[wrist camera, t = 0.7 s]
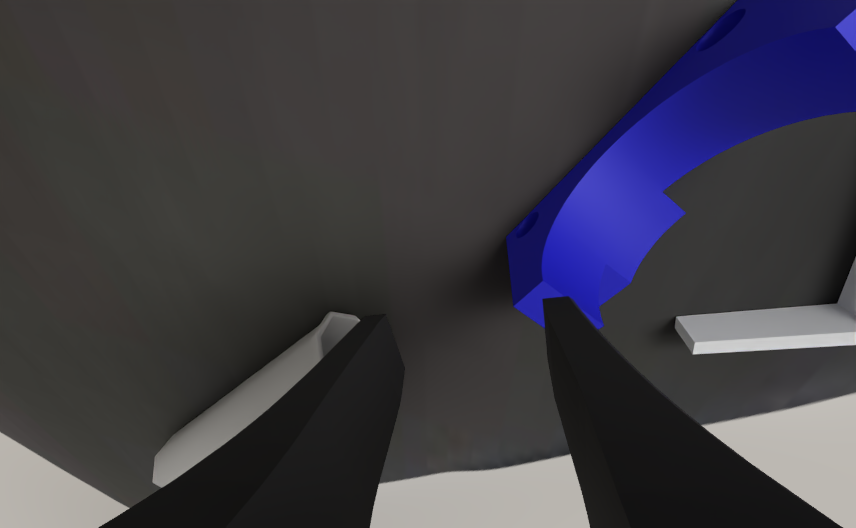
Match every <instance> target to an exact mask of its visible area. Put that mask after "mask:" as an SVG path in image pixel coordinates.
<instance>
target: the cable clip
mask: <svg viewBox="0 0 856 528" xmlns="http://www.w3.org/2000/svg"><path fill="white" fill-rule="evenodd" d="M845 112H856V0H737V1H736V2H735V3H734V4H733V6H732V7H731V8H730V9H729V10H728V11H727V12H726V13H725V14H724V15H723V16H722V17H721V18H720V19H719V20H718V21H717V22H716V23H715V24H714V25H713V26H712V27H711V28H710V29H709V30H708V31H707V32H706V33H705V34H704V35H703V36H702V37H701V38H700V39H699V40H698V41H697V42H696V43H695V44H694V45H693V46H692V47H691V48H690V49H689V50H688V52H687V53H686V54H685V55H684V56H683V57H682V58H681V59H680V60H679V61H678V62H677V63H676V64H675V65H674V66H673V67H672V68H671V69H670V70H669V71H668V72H667V73H666V74H665V75H664V76H663V77H662V78H661V79H660V80H659V81H658V82H657V83H656V84H655V85H654V86H653V87H652V88H651V89H650V90H649V91H648V92H647V93H646V94H645V95H644V97H643V98H642V99H641V100H640V101H639V102H638V103H637V104H636V105H635V106H634V107H633V108H632V109H631V110H630V111H629V112H628V113H627V114H626V115H625V116H624V117H623V118H622V119H621V120H620V121H619V122H618V123H617V124H616V125H615V126H614V127H613V128H612V129H611V130H610V131H609V132H608V133H607V134H606V135H605V136H604V137H603V138H602V139H601V140H600V141H599V143H598V144H597V145H596V146H595V147H594V148H593V149H592V150H591V151H590V152H589V153H588V154H587V155H586V156H585V157H584V158H583V159H582V160H581V161H580V162H579V163H578V164H577V165H576V166H575V167H574V168H573V169H572V170H571V171H570V172H569V173H568V174H567V175H566V176H565V177H564V178H563V179H562V180H561V181H560V182H559V183H558V184H557V185H556V186H555V188H554V189H553V190H552V191H551V192H550V193H549V194H548V195H547V196H546V197H545V198H544V199H543V200H542V201H541V202H540V203H539V204H538V205H537V206H536V207H535V208H534V209H533V210H532V211H531V212H530V213H529V214H528V215H527V216H526V217H525V218H524V219H523V220H522V221H521V222H520V223H519V224H518V225H517V226H516V227H515V228H514V229H513V230H512V231H511V233H510V234H509V235H508V236H507V237H506V241H507V250H508V260H509V269H510V279H511V288H512V297H513V307H515V308H516V309H518V310H519V311H521V312H522V313H523V314H525V315H526V316H528V317H529V318H531V319H532V320H533V321H535V322H536V323H538V324H539V325H541V326H542V327H543V328H545V323H544V312H543V301H542V299H544V298H554V297H564V296H569V297H570V298H572V299H573V300H574V301H575V303H576V304H577V305H578V307H579V308H580V309H581V310H582V312H583V313H584V314H585V315H586V317H587V318H588V319H589V320H590V321H591V322H592V324H593V325H594V326H595V327H596V328H597V329H600V328H601V327H603V326H604V324H603V321H602V319H601V315H600V310H599V306H600V305H602V304H603V303H604V302H606V301H607V300H608V299H610V298H611V297H613V296H614V295H615V294H617V293H618V292H619V291H621V290H622V289H623V288H625V287H626V286H627V285H629V284H630V283H631V281H632V279H633V276H634V274H635V272H636V270H637V268H638V266H639V265H640V263H641V261H642V260H643V258H644V257H645V255H646V254H647V252H648V251H649V250H650V248H651V247H652V246H653V245H654V243H655V242H656V241H657V240H658V239H659V238H660V237H661V236H662V234H663V233H664V232H665V231H666V230H668V229H669V228H670V227H671V226H672V225H673V224H674V223H675V222H676V221H677V220H678V219H680V218H681V217H682V216H683V215H684V214H686V213H685V212H684V211H683V210H682V209H681V208H680V207H679V206H678V205H676V204H675V203H674V202H673V201H672V200H671V199H670V198H668V197H667V196H666V195H665V194H664V193H663V192H662V191H664V190H665V189H666V188H667V187H669V186H670V185H671V184H672V183H674V182H675V181H676V180H678V179H679V178H680V177H682V176H683V175H685V174H686V173H688V172H689V171H690V170H692V169H694V168H695V167H697V166H698V165H700V164H702V163H703V162H705V161H706V160H708V159H710V158H712V157H713V156H715V155H717V154H719V153H721V152H723V151H725V150H727V149H729V148H731V147H732V146H734V145H737V144H739V143H741V142H743V141H746V140H748V139H750V138H752V137H755V136H757V135H760V134H763V133H765V132H768V131H771V130H773V129H776V128H779V127H782V126H785V125H789V124H792V123H796V122H799V121H803V120H807V119H812V118H816V117H821V116H825V115H832V114H838V113H845Z"/></svg>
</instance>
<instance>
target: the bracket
mask: <svg viewBox="0 0 856 528" xmlns="http://www.w3.org/2000/svg"><path fill="white" fill-rule="evenodd" d="M675 329H676V331H677V332H678V334H679V335H680V337H681V338H682V339H683V341H684V342H685V344H686V345H687V347H688V348H689V350H690V351H691V353H692V354H707V353H725V352H742V351H759V350H776V349H794V348H811V347H828V346H845V345H856V257H855V260H854V262H853V265H852V267H851V270H850V272H849V275H848V277H847V280H846V282H845V285H844V287H843V290H842V293H841V295H840V298H839V300H838V303H837V304H824V305H812V306H799V307H787V308H775V309H762V310H750V311H738V312H725V313H713V314H701V315H688V316H676V321H675Z"/></svg>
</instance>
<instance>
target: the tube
mask: <svg viewBox="0 0 856 528" xmlns="http://www.w3.org/2000/svg"><path fill="white" fill-rule="evenodd" d="M359 321H360V320H359V319H358V318H357V317H356V316H354V315H349V314H343V313H337V312H331V311H330V312H329V313H328V314H327V315H326V316H325V317H324V319H323V321H322V322H321V324H320V325H319V326H317V327H316V328H315V329H313V330H312V331H311V332H309V333H308V334H307V335H305V336H304V337H303V338H301V339H300V340H299V341H297V342H296V343H295V344H293V345H292V346H291V347H290V348H288V349H287V350H286V351H284V352H283V353H282V354H280V355H279V356H278V357H276V358H275V359H274V360H272V361H271V362H270V363H268V364H267V365H266V366H264V367H263V368H262V369H260V370H259V371H258V372H256V373H255V374H254V375H252V376H251V377H250V378H248V379H247V380H246V381H244V382H243V383H242V384H240V385H239V386H238V387H236V388H235V389H234V390H232V391H231V392H230V393H228V394H227V395H226V396H224V397H223V398H222V399H220V400H219V401H218V402H216V403H215V404H214V405H212V406H211V407H210V408H208V409H207V410H206V411H204V412H203V413H202V414H200V415H199V416H198V417H196V418H195V419H194V420H192V421H191V422H190V423H188V424H187V425H186V426H184V427H183V428H182V429H180V430H179V431H178V432H176V433H175V434H174V435H172V437H171V438H170V439H169V440H168V441H167V443H166V444H165V445H164V446H163V448H162V449H161V450H160V451H159V452H158V454H157V455H156V456H155V462H154V472H153V483H154V484H156V485H158V486H160V487H161V488H162V487H164V486H165V485H167V484H168V483H170V482H172V481H173V480H175V479H176V478H177V477H179V476H180V475H182V474H183V473H185V472H186V471H187V470H189V469H190V468H192V467H193V466H194V465H196V464H197V463H199V462H200V461H201V460H203V459H204V458H206V457H207V456H208V455H210V454H211V453H213V452H214V451H215V450H217V449H218V448H219V447H221V446H222V445H224V444H225V443H226V442H228V441H229V440H230V439H232V438H233V437H234V436H236V435H237V434H238V433H239V432H241V431H242V430H243V429H244V428H246V427H247V426H248V425H249V424H251V423H252V422H253V421H254V420H256V419H257V418H258V417H259V416H260V415H262V414H263V413H264V412H265V411H266V410H268V409H269V408H270V407H271V406H272V405H273V404H274V403H276V402H277V401H278V400H279V399H280V398H281V397H282V396H283V395H284V394H285V393H287V392H288V391H289V390H290V389H291V388H292V387H293V386H294V385H295V384H296V383H297V382H298V381H299V380H301V379H302V378H303V377H304V376H305V375H306V374H307V373H308V372H309V371H310V370H311V369H312V368H313V367H314V366H315V365H316V364H317V363H318V362H319V361H320V360H321V359H322V358H323V357H324V356H325V355H326V354H327V353H328V352H329V351H330V350H331V349H332V348H333V347H334V346H335V345H336V344H337V343H338V342H339V341H340V340H341V339H342V338H343V337H344V336H345V335H346V334H347V333H348V332H349V331H350V330H351V329H352V328H353V327H354V326H355V325H356V324H357V323H358V322H359Z"/></svg>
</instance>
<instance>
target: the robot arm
mask: <svg viewBox="0 0 856 528" xmlns="http://www.w3.org/2000/svg"><path fill="white" fill-rule="evenodd" d="M542 301H543V312H544V323H545V334H546V345H547V356H548V363H549V369H550V375H551V380H552V386H553V391H554V397H555V401H556V404H557V408H558V411H559V415H560V418H561V422H562V425H563V429H564V432H565V436H566V439H567V442H568V446H569V449H570V453H571V456H572V459H573V463H574V466H575V470H576V474H577V477H578V480H579V484H580V487H581V491H582V495H583V498H584V503H585V507H586V511H587V515H588V519H589V524H590V528H843V527H841V526H840V525H838V524H837V523H835V522H834V521H832V520H831V519H829V518H828V517H827V516H825V515H824V514H822V513H821V512H819V511H818V510H817V509H815V508H814V507H812V506H811V505H809V504H808V503H807V502H805V501H804V500H802V499H801V498H799V497H798V496H797V495H795V494H794V493H792V492H791V491H789V490H788V489H787V488H785V487H784V486H782V485H781V484H779V483H778V482H776V481H775V480H774V479H772V478H771V477H769V476H767V475H766V474H765V473H764V472H762V471H760V470H759V469H758V468H756V467H755V466H753V465H752V464H751V463H749V462H748V461H747V460H745V459H744V458H743V457H741V456H740V455H739V454H737V453H736V452H735V451H734V450H732V449H731V448H730V447H728V446H727V445H726V444H724V443H723V442H722V441H720V440H719V439H718V438H716V437H715V436H714V435H713V434H711V433H710V432H709V431H707V430H706V429H705V428H704V427H702V426H701V425H700V424H699V423H698V422H696V421H695V420H694V419H693V418H691V417H690V416H689V415H688V414H686V413H685V412H684V411H683V410H682V409H680V408H679V407H678V406H677V405H676V404H674V403H673V402H672V401H671V400H670V399H669V398H668V397H666V396H665V395H664V394H663V393H662V392H661V391H659V390H658V389H657V388H656V387H655V386H654V385H653V384H652V383H651V382H650V381H649V380H647V379H646V378H645V377H644V376H643V375H642V374H641V373H640V372H639V371H638V370H637V369H636V368H635V367H634V366H633V365H632V364H630V363H629V362H628V361H627V360H626V359H625V358H624V357H623V356H622V354H621V353H620V352H619V351H618V350H617V349H616V348H615V347H614V346H613V345H612V344H611V343H610V342H609V341H608V340H607V339H606V338H605V337H604V336H603V335H602V334H601V333H600V331H599V330H598V329H597V328H596V327H595V326H594V325H593V324H592V322H591V321H590V320H589V319H588V318H587V317H586V315H585V314H584V313H583V312H582V310H581V309H580V308H579V307H578V305H577V304H576V303H575V301H574V300H573V299H572V298H570V297H569V296H564V297H554V298H544V299H542ZM404 371H405V367H404V364H403V361H402V359H401V356H400V353H399V350H398V347H397V345H396V342H395V339H394V336H393V333H392V331H391V328H390V325H389V322H388V320H387V317H386V314H383V315H373V316H365V317H364V318H363V319H362V320H360V321H359V322H358V323H357V324H356V325H355V326H354V327H353V328H352V329H351V330H350V331H349V332H348V333H347V334H346V335H345V336H344V337H343V338H342V339H341V340H340V341H339V342H338V343H337V344H336V345H335V346H334V347H333V348H332V349H331V350H330V351H329V352H328V353H327V354H326V355H325V356H324V357H323V358H322V359H321V360H320V361H319V362H318V363H317V364H316V365H315V366H314V367H313V368H312V369H311V370H310V371H309V372H308V373H307V374H306V375H305V376H304V377H303V378H302V379H301V380H299V381H298V382H297V383H296V384H295V385H294V386H293V387H292V388H291V389H290V390H289V391H288V392H287V393H285V394H284V395H283V396H282V397H281V398H280V399H279V400H278V401H277V402H276V403H274V404H273V405H272V406H271V407H270V408H269V409H268V410H266V411H265V412H264V413H263V414H262V415H260V416H259V417H258V418H257V419H256V420H254V421H253V422H252V423H251V424H249V425H248V426H247V427H246V428H244V429H243V430H242V431H241V432H239V433H238V434H237V435H236V436H234V437H233V438H232V439H230V440H229V441H228V442H226V443H225V444H224V445H222V446H221V447H219V448H218V449H217V450H215V451H214V452H213V453H211V454H210V455H208V456H207V457H206V458H204V459H203V460H201V461H200V462H199V463H197V464H196V465H194V466H193V467H192V468H190V469H189V470H187V471H186V472H185V473H183V474H182V475H180V476H179V477H177V478H176V479H175V480H173V481H172V482H170V483H168V484H167V485H165V486H164V487H162V488H161V489H159V490H158V491H156V492H155V493H153V494H152V495H150V496H149V497H147V498H146V499H144V500H142V501H141V502H139V503H138V504H136V505H134V506H133V507H131V508H130V509H128V510H126V511H125V512H123V513H122V514H120V515H119V516H117V517H115V518H114V519H112V520H110V521H109V522H107V523H105V524H104V525H102V526H100V527H99V528H370V523H371V517H372V511H373V506H374V501H375V497H376V493H377V489H378V485H379V481H380V477H381V474H382V470H383V466H384V462H385V459H386V455H387V451H388V448H389V444H390V440H391V437H392V433H393V429H394V425H395V421H396V418H397V414H398V410H399V406H400V401H401V394H402V388H403V380H404Z"/></svg>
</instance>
